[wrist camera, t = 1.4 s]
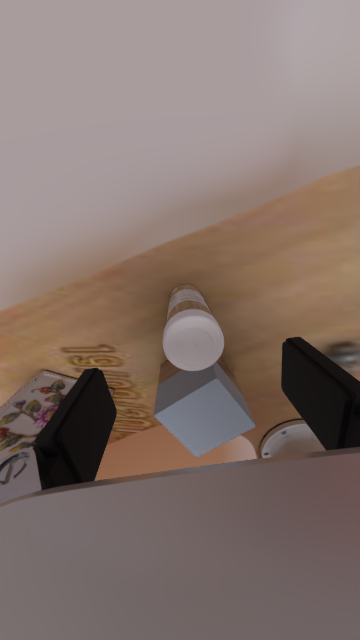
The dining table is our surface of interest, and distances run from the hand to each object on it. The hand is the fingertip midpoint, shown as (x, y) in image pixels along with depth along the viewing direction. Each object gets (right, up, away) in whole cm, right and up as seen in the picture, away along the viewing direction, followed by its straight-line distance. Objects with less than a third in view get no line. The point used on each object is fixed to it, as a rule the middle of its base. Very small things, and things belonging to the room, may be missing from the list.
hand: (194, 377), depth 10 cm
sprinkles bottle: (0, +6, +17) cm, 18 cm away
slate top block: (+2, -6, +16) cm, 17 cm away
